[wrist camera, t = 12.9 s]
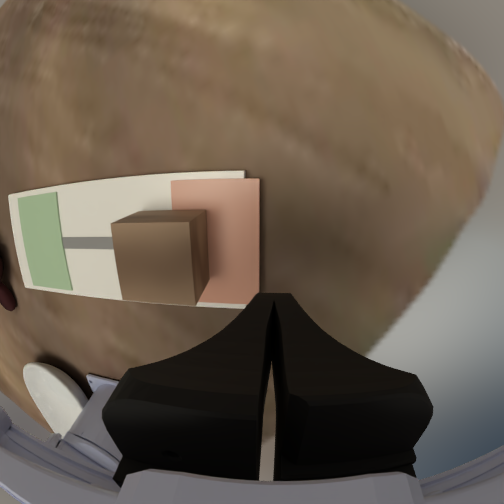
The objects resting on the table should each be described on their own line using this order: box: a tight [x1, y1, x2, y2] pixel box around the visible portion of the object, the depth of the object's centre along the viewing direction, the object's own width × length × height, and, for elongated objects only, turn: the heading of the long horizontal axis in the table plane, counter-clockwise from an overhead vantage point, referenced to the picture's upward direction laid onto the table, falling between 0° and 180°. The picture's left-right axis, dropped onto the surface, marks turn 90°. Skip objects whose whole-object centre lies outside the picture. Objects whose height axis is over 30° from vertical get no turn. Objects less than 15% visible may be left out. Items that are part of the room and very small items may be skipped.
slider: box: [110, 209, 210, 306], centre depth 18 cm, size 5×5×4 cm
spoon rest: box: [23, 362, 88, 439], centre depth 27 cm, size 24×12×7 cm, turn 13°
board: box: [8, 170, 259, 309], centre depth 21 cm, size 10×25×1 cm, turn 90°
